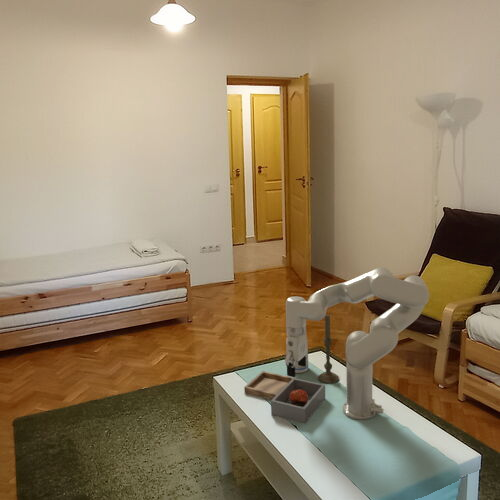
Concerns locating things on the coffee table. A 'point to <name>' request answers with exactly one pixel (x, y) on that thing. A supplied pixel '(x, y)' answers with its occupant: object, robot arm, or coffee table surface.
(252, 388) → the tray
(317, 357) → the coffee table surface
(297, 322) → the robot arm
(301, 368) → the supplement tub
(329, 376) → the candlestick holder
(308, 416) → the grey open box
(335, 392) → the coffee table surface
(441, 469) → the coffee table surface
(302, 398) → the pomegranate
